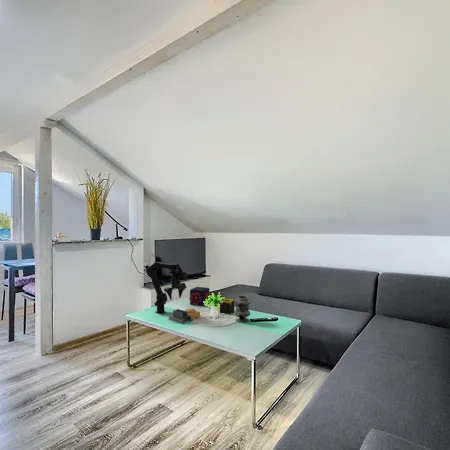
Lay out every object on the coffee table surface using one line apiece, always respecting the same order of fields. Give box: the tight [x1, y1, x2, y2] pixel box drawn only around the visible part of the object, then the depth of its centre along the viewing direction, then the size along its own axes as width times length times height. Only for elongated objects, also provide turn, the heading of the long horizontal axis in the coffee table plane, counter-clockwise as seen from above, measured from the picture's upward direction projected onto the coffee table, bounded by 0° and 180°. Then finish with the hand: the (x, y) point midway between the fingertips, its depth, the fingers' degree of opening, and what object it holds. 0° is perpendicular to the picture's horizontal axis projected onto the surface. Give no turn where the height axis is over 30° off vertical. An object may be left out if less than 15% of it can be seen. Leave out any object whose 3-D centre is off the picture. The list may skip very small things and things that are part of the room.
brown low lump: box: [184, 307, 201, 320], centre depth 237 cm, size 12×10×6 cm
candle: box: [219, 298, 236, 315], centre depth 248 cm, size 10×10×10 cm
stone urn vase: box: [233, 295, 251, 323], centre depth 227 cm, size 12×12×18 cm
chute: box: [172, 308, 187, 321], centre depth 229 cm, size 11×5×6 cm, turn 48°
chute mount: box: [168, 315, 193, 325], centre depth 230 cm, size 16×10×3 cm, turn 48°
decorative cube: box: [189, 286, 211, 307], centre depth 276 cm, size 16×16×14 cm
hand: (175, 298), depth 243 cm, fingers open, 9 cm apart
